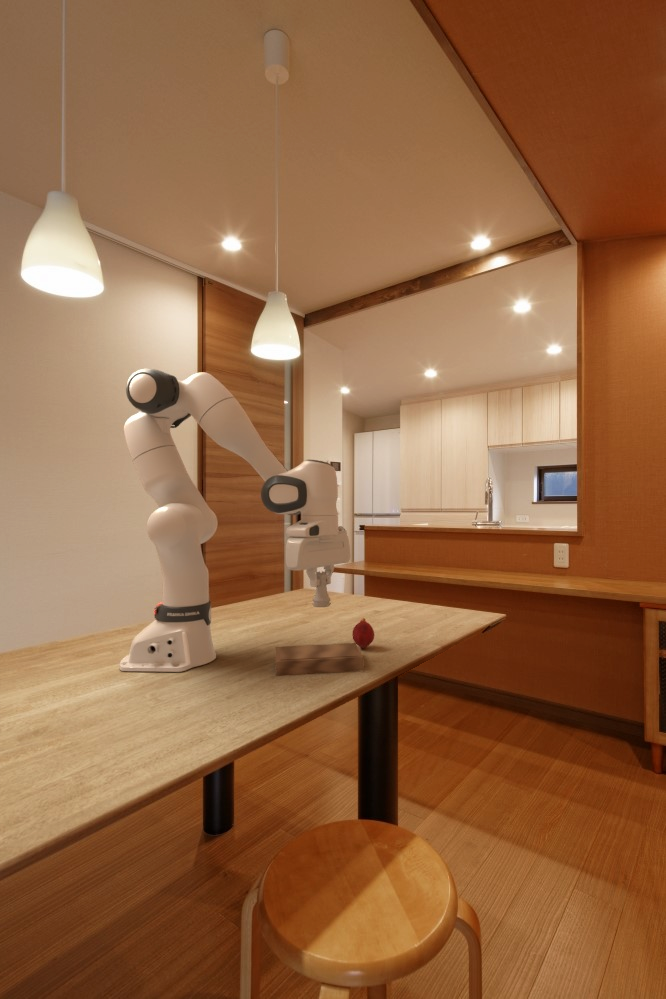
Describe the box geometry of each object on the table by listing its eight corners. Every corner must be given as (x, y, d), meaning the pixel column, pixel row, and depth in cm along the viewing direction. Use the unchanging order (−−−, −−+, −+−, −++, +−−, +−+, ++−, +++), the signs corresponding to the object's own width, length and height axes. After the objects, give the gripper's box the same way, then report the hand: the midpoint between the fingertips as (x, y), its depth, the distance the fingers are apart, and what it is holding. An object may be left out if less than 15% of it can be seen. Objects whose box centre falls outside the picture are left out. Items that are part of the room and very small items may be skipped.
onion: (375, 651, 127) (374, 620, 127) (352, 652, 127) (352, 620, 127) (373, 645, 133) (373, 615, 133) (352, 645, 133) (351, 615, 133)
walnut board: (275, 675, 111) (275, 661, 111) (275, 658, 123) (275, 646, 123) (363, 670, 113) (363, 656, 113) (355, 654, 125) (355, 642, 125)
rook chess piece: (325, 608, 115) (325, 573, 115) (308, 606, 117) (308, 572, 117) (334, 604, 119) (333, 571, 119) (317, 603, 121) (317, 570, 121)
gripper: (336, 525, 128) (336, 578, 128) (280, 529, 112) (281, 590, 112) (355, 525, 124) (356, 580, 124) (301, 529, 108) (302, 592, 108)
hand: (320, 585), depth 118 cm, fingers closed on rook chess piece, 3 cm apart
